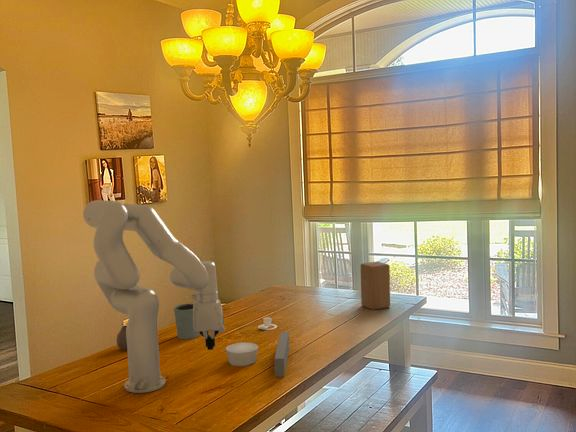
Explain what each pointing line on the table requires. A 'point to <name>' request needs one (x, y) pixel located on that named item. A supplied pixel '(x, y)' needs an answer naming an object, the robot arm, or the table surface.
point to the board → (282, 354)
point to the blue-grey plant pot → (185, 321)
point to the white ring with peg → (267, 324)
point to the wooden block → (375, 285)
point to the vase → (122, 339)
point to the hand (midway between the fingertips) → (210, 348)
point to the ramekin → (242, 354)
